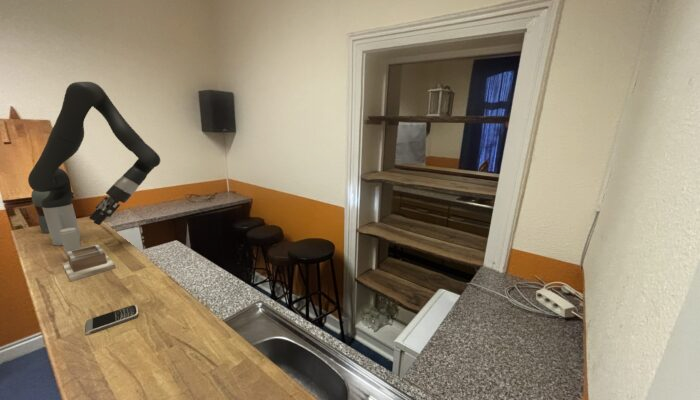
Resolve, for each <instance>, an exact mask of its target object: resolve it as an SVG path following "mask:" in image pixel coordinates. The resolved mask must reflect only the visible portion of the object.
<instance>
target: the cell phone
mask: <svg viewBox="0 0 700 400" xmlns="http://www.w3.org/2000/svg"><path fill="white" fill-rule="evenodd" d="M138 316H139V309H138V305H136V304H132V305H128V306H125V307H122V308H119V309H117V310H113V311H109V312H107V313H104V314H101V315H97V316H95V317H92V318H91V317H90V318H88V319H87V320H86V322H85V325H84V336H85V335H87V336H88V335H91V334H94V333H96V332H100V331H103V330H105V329H108V328H111V327H114V326H117V325H119V324H123V323H125V322H128V321H131V320H134V319H136V318H137V317H138Z"/></svg>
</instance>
